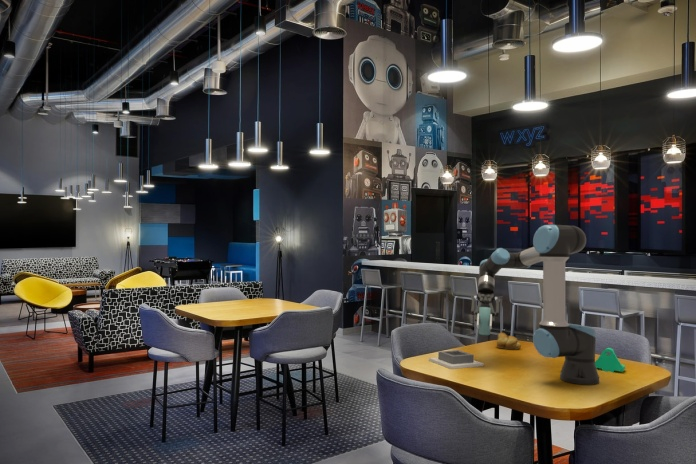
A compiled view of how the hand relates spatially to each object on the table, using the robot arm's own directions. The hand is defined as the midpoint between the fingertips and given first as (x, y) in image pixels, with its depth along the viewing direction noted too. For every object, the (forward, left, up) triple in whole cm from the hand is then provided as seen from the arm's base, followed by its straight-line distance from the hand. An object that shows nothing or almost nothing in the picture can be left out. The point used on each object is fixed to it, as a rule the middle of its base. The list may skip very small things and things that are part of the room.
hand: (484, 327), depth 244 cm
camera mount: (-21, -55, -19) cm, 62 cm away
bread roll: (+35, -44, -19) cm, 59 cm away
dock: (+14, +5, -19) cm, 24 cm away
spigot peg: (+3, -2, -4) cm, 5 cm away
